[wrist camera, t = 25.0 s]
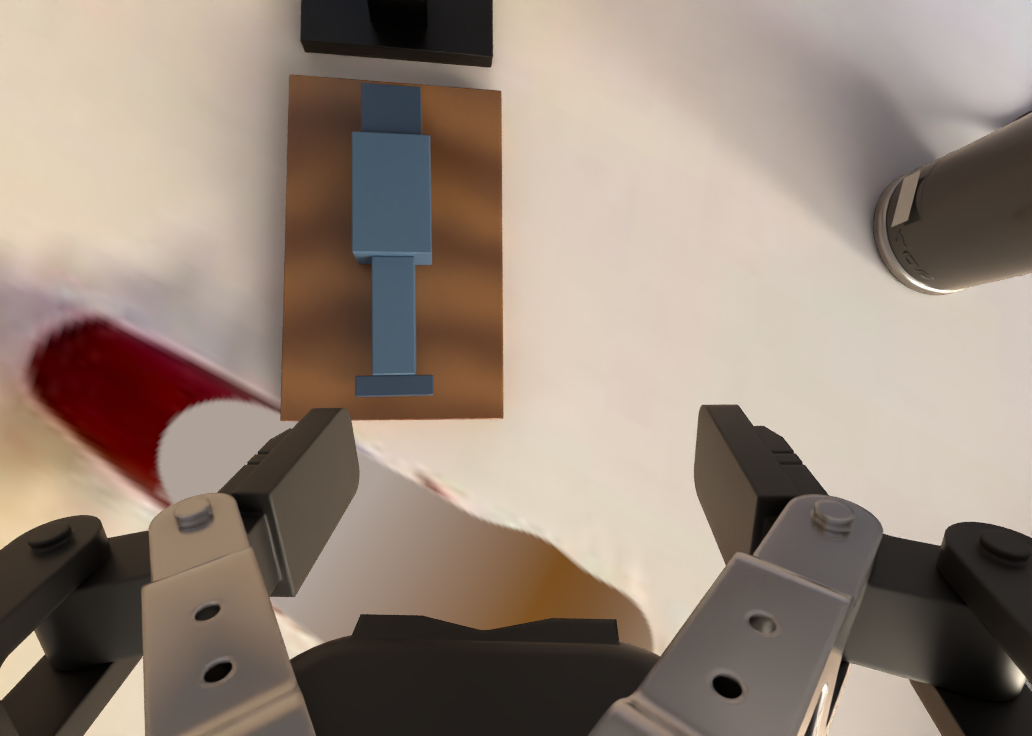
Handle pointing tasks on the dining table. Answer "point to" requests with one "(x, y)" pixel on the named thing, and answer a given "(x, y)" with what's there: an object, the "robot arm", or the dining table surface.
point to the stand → (401, 29)
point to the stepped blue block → (392, 230)
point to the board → (348, 285)
